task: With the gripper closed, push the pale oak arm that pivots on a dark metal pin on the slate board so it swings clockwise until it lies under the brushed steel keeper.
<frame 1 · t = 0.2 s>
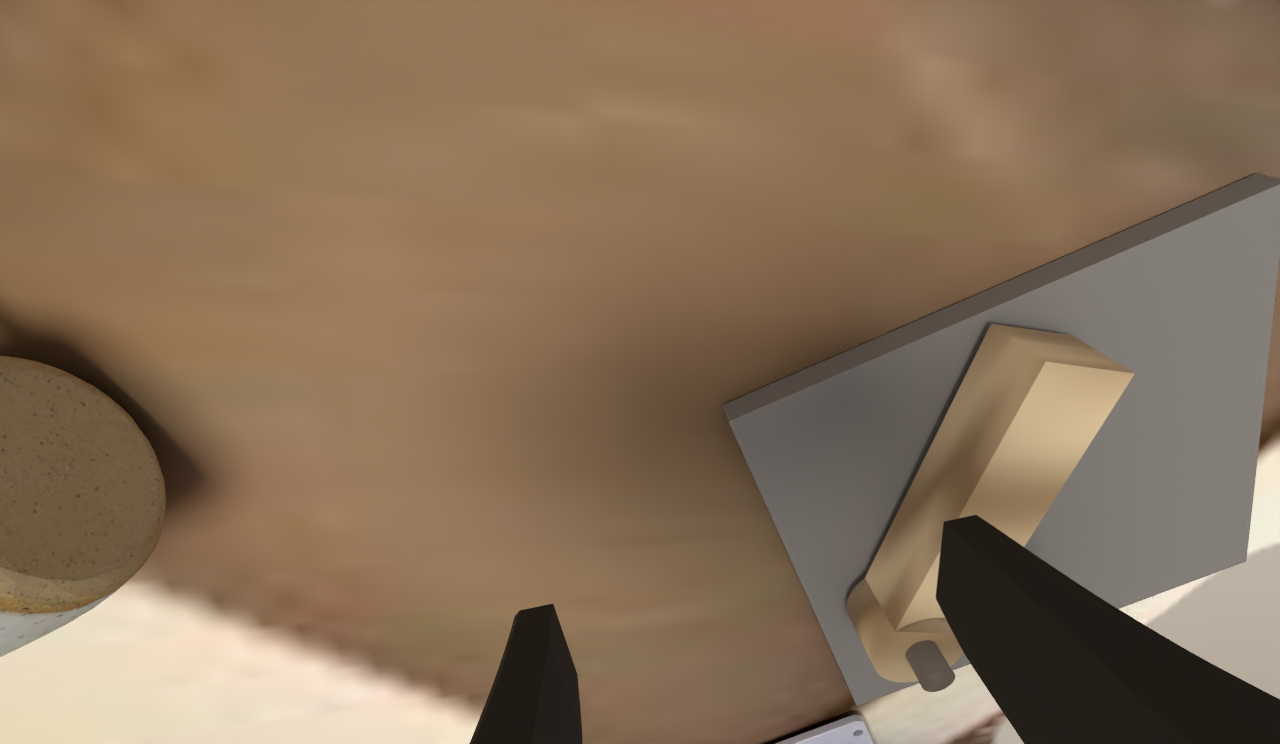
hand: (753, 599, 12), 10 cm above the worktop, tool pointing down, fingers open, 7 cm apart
oak link: (971, 535, 21), point 3 cm above the worktop, hinge at -35.0°
slate board: (1008, 484, 25), on the worktop
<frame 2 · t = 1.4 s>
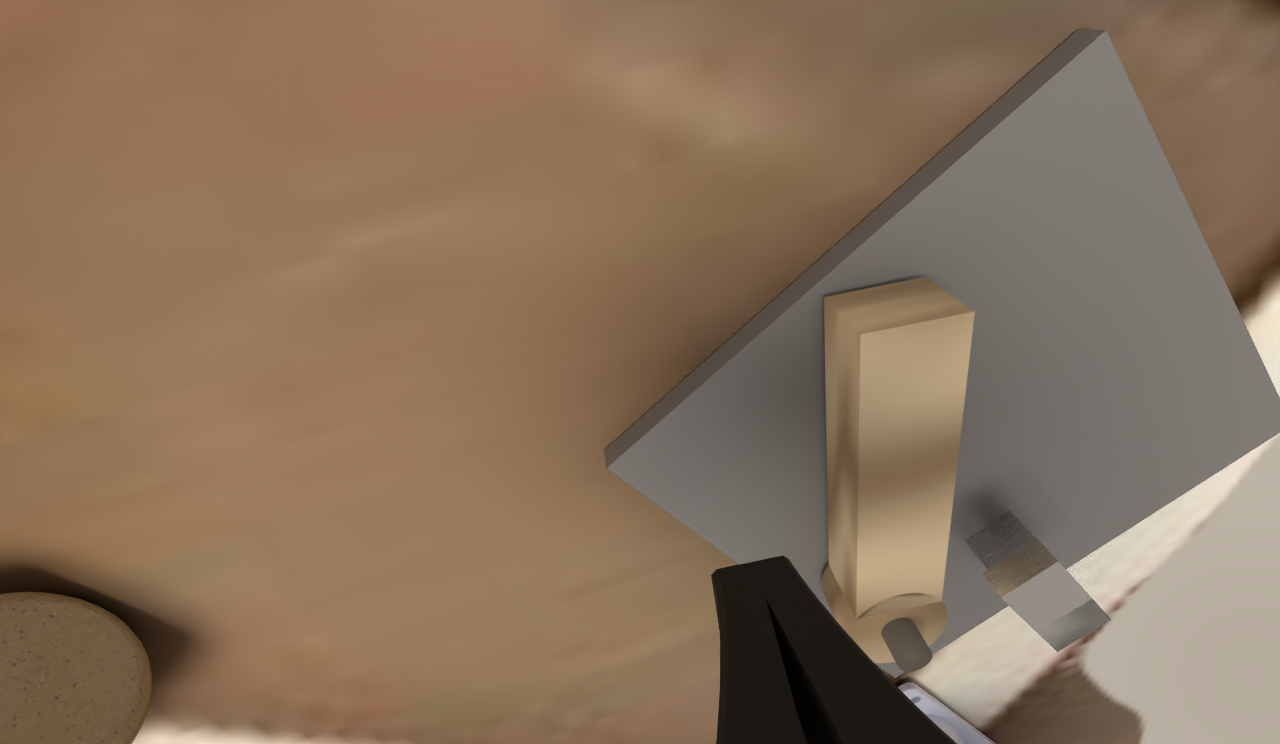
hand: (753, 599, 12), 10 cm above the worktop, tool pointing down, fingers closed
steel keeper: (981, 517, 25), resting on slate board
oak link: (894, 507, 20), point 3 cm above the worktop, hinge at -35.0°
slate board: (955, 429, 23), on the worktop
ceramic mug: (9, 633, 23), on the worktop
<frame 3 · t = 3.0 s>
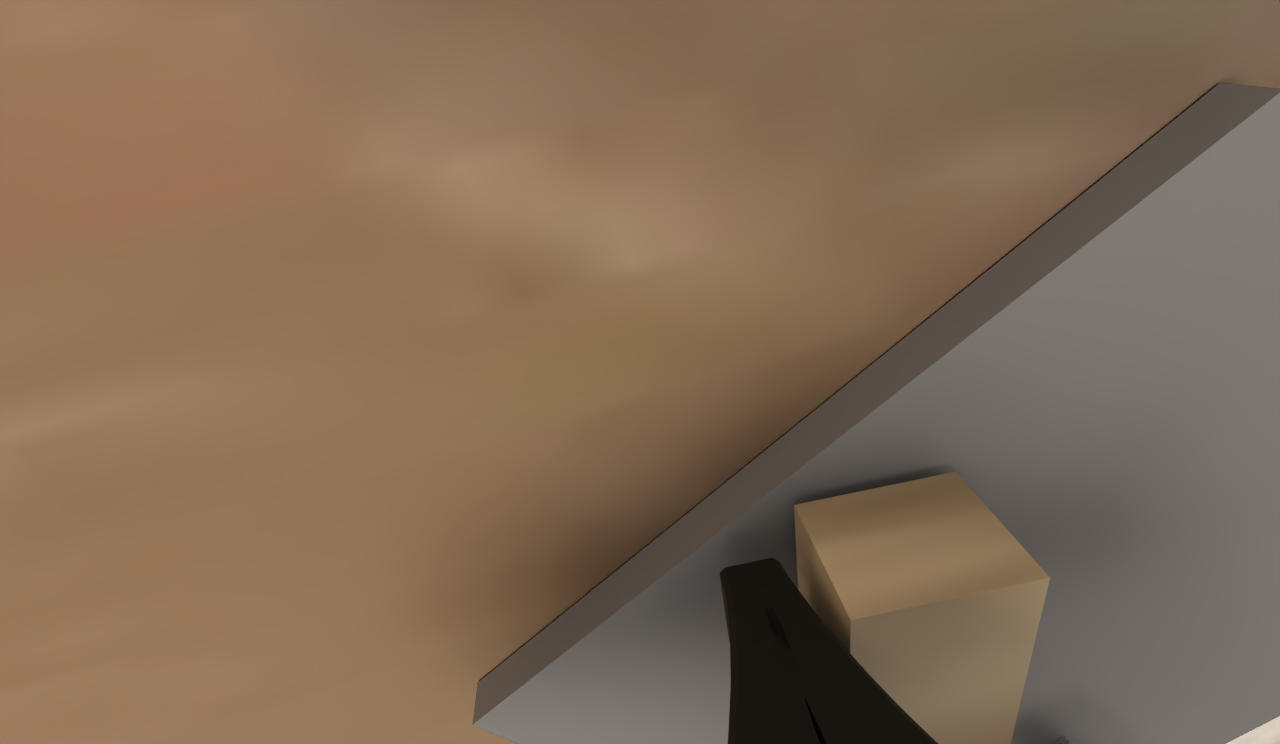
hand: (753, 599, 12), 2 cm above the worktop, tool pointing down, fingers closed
steel keeper: (1020, 727, 18), resting on slate board
slate board: (989, 632, 16), on the worktop
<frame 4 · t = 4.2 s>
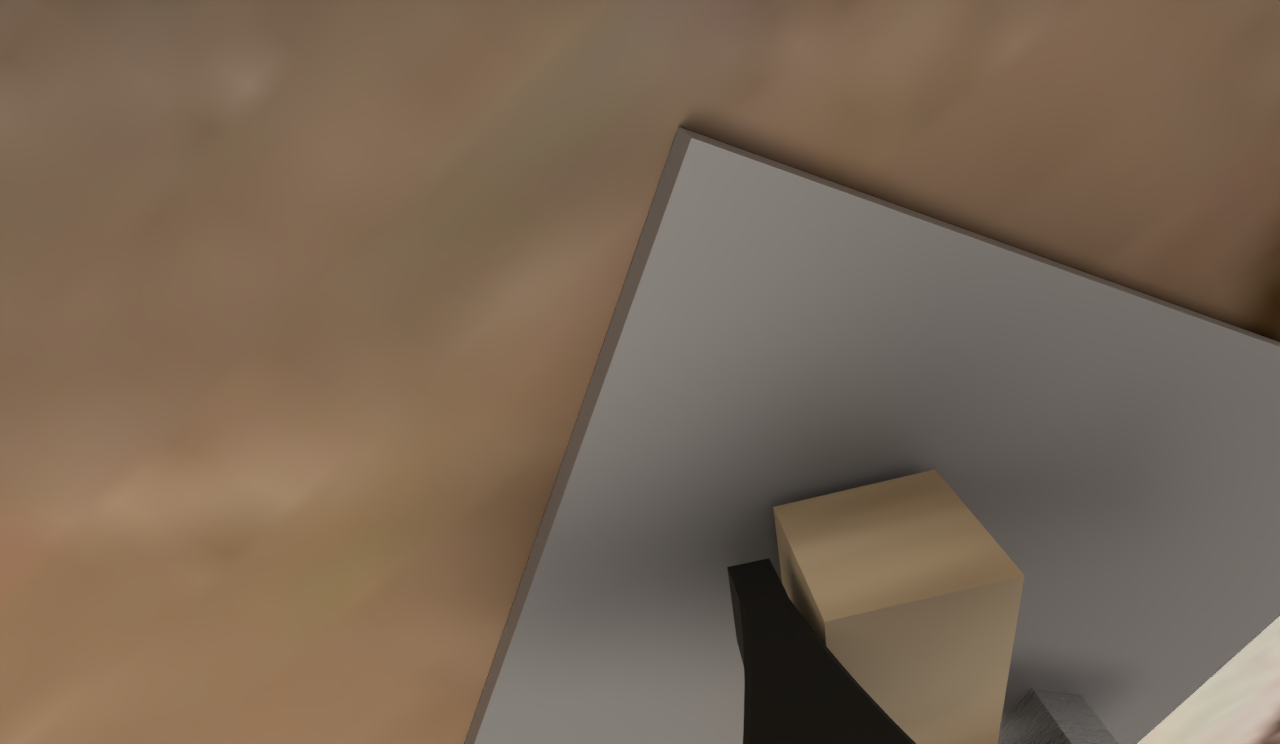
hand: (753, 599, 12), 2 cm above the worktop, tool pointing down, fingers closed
steel keeper: (1009, 681, 17), resting on slate board
slate board: (889, 621, 15), on the worktop
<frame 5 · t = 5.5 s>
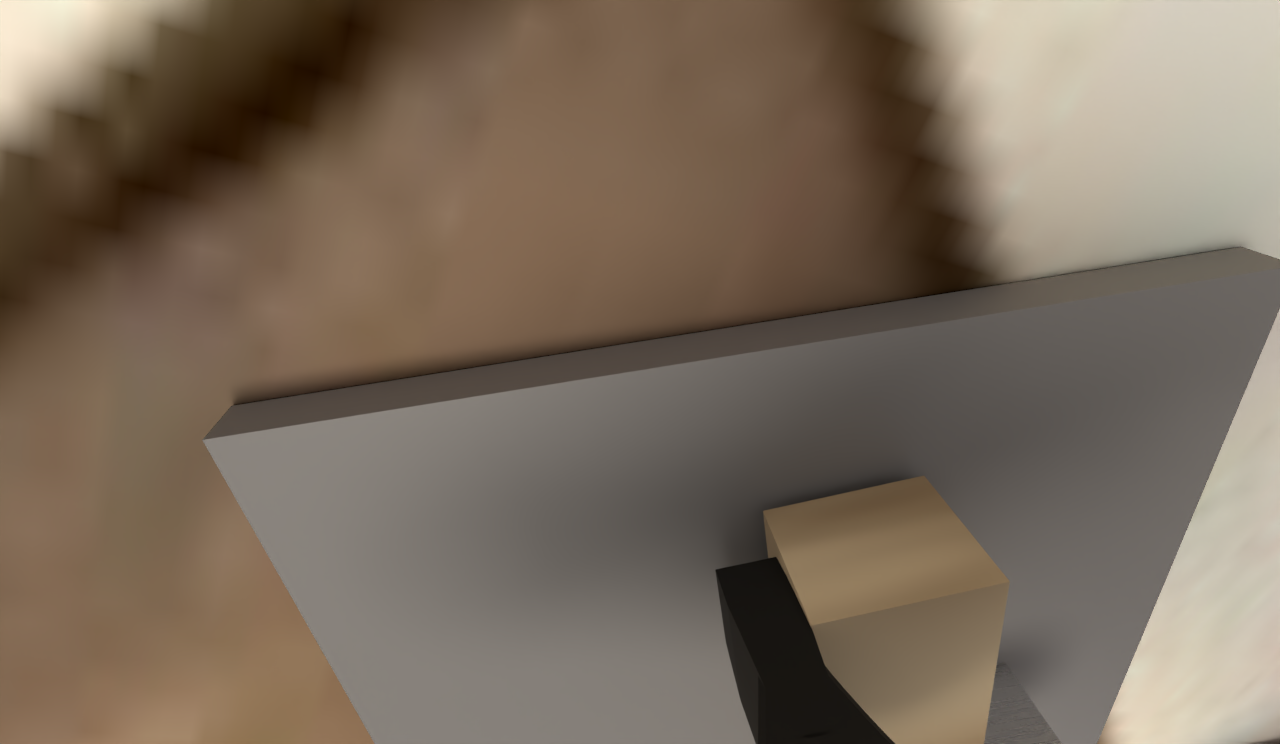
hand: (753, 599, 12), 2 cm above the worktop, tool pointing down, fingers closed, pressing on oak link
steel keeper: (945, 658, 16), resting on slate board
slate board: (763, 654, 15), on the worktop
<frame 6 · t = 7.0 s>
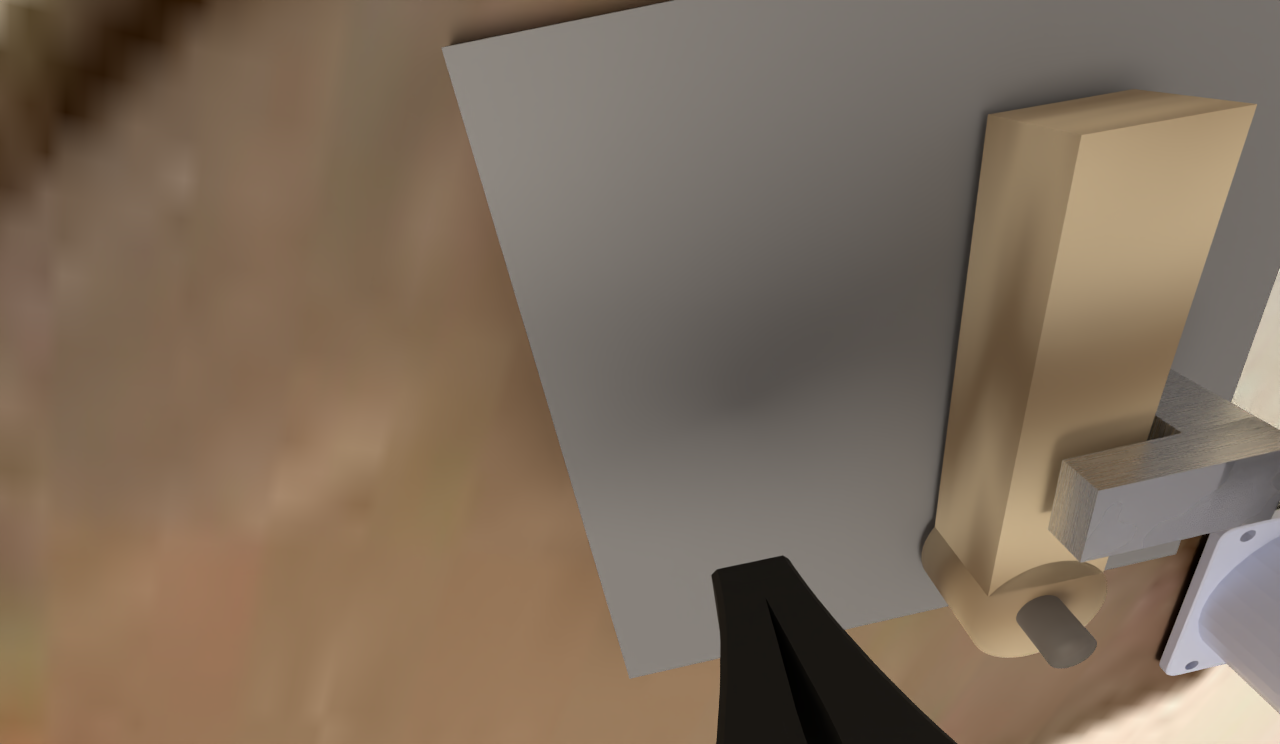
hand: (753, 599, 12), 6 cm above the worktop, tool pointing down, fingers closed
steel keeper: (1067, 368, 17), resting on slate board
oak link: (1059, 438, 14), point 3 cm above the worktop, hinge at -91.9°
slate board: (900, 358, 16), on the worktop
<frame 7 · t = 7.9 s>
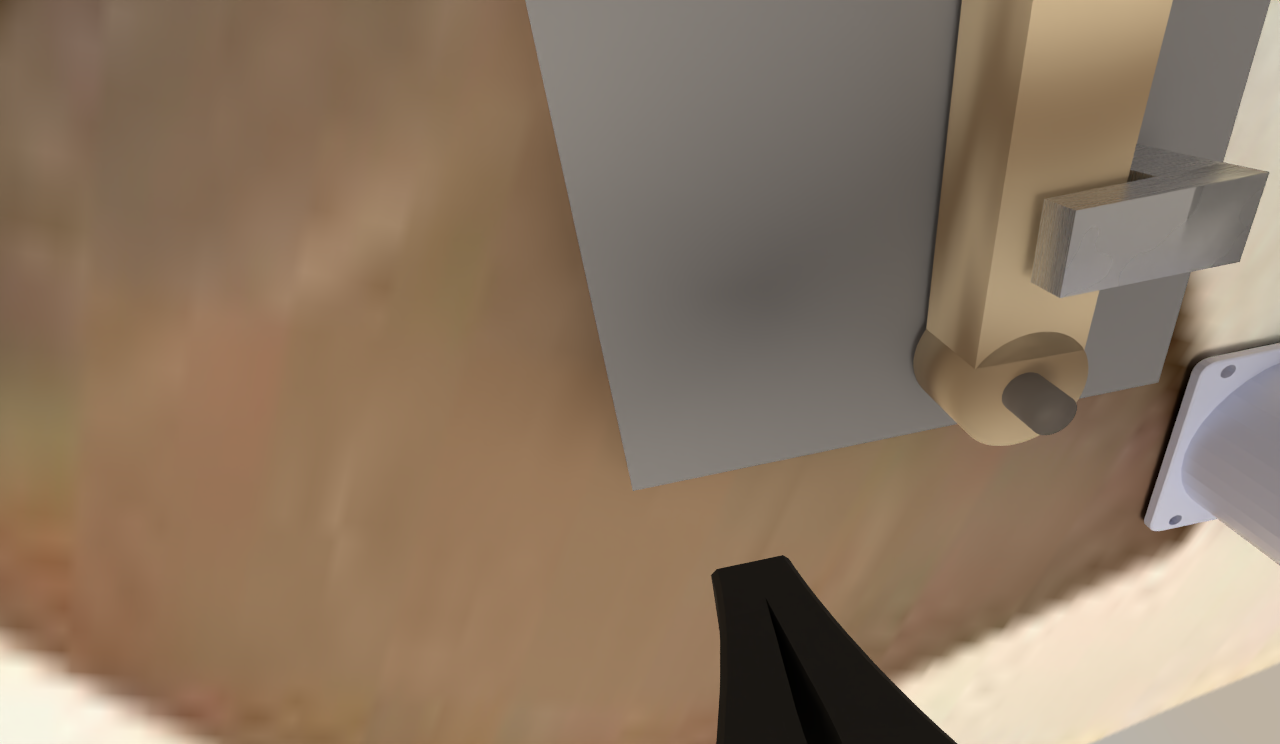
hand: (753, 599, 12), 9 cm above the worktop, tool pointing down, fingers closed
steel keeper: (1054, 174, 18), resting on slate board
oak link: (1042, 198, 15), point 3 cm above the worktop, hinge at -91.9°
slate board: (894, 153, 17), on the worktop
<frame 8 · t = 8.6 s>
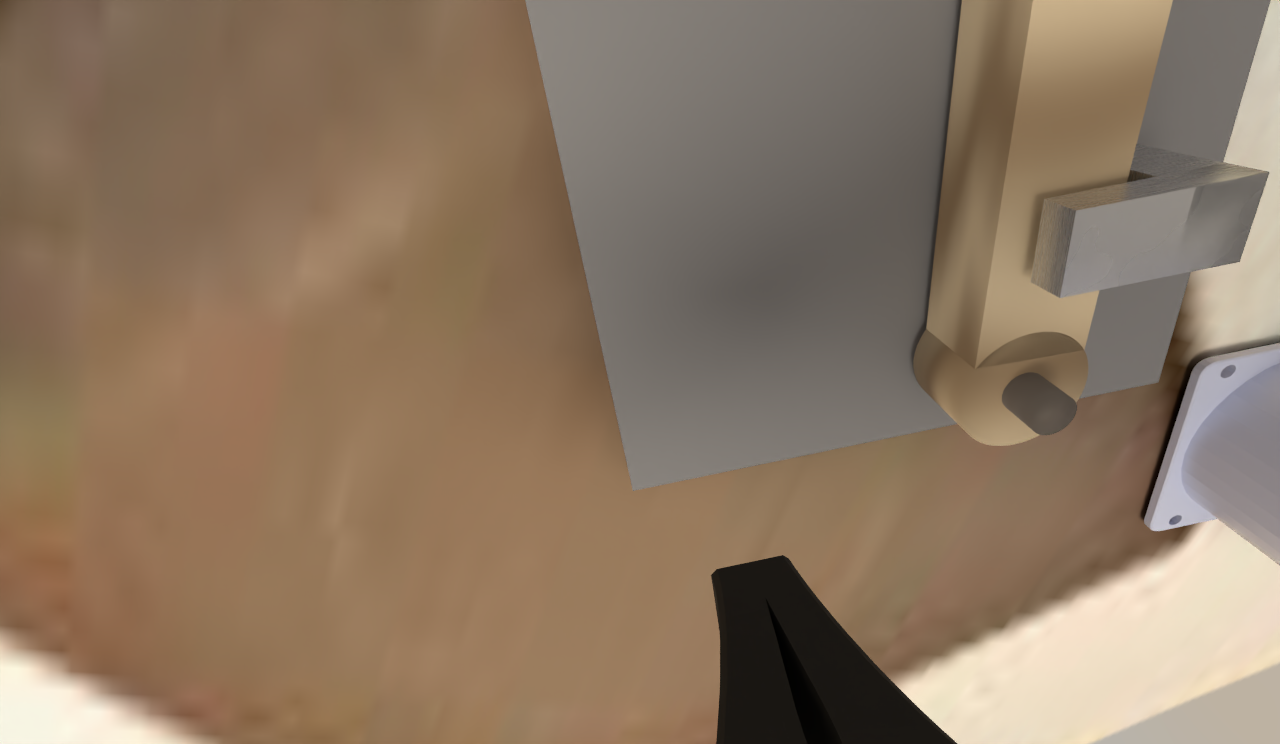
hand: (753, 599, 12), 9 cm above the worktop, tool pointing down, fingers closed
steel keeper: (1054, 174, 18), resting on slate board
oak link: (1042, 198, 15), point 3 cm above the worktop, hinge at -91.9°
slate board: (894, 153, 17), on the worktop
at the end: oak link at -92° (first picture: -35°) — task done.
